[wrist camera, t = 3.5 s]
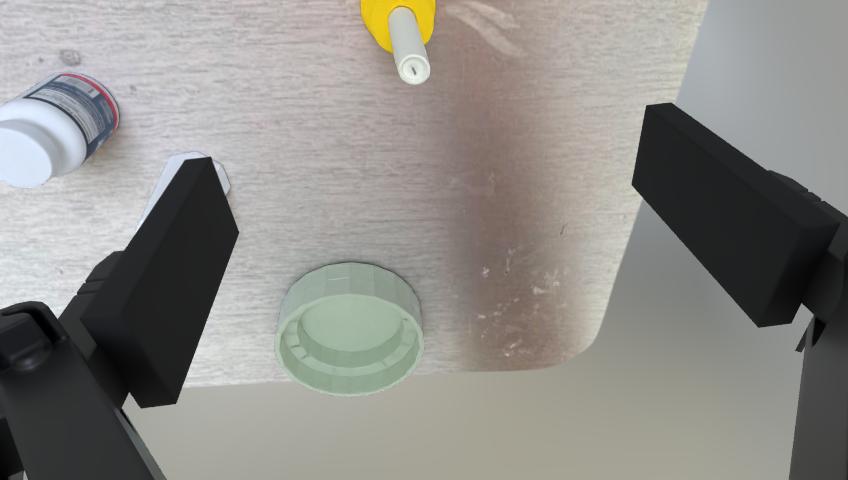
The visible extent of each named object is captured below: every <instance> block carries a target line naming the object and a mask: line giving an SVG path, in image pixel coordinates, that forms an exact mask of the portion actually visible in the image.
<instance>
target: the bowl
mask: <svg viewBox="0 0 848 480" xmlns="http://www.w3.org/2000/svg"><path fill="white" fill-rule="evenodd" d="M424 348H425V347H424V339H423V331H422V323H421V315H420V307H419V301H418V299H417V297H416V295H415V294H414V292H413V290H412V288H411V287H410V286H409V285H408V284H407V283H406V282H405V281H403V280H402V279H401V278H400V277H398V276H397V275H396V274H394V273H392V272H390V271H387V270H385V269H382V268H380V267H377V266H374V265H369V264H361V263H353V262H349V263H341V264H333V265H327V266H324V267H322V268H319V269H317V270H314V271H312V272H309V273H307V274H306V275H304V276H303V277H302V278H301V279H300V280H298V281H297V282H296V283H295V284H293V285H292V286H291V287H290V289H289V291H288V293H287V294H286V296H285V298H284V299H283V301H282V305H281V310H280V315H279V320H278V325H277V330H276V334H275V345H274V352H275V355H276V358H277V360H278V363H279V365H280V367H281V368H282V370H283V371H284V372H285V373H286V374H287V375H288V376H289V377H290V378H291V379H292V380H293V381H295V382H297V383H298V384H300V385H302V386H304V387H306V388H307V389H309V390H312V391H316V392H319V393H323V394H326V395H331V396H345V397H355V396H363V395H370V394H375V393H378V392H380V391H383V390H386V389H389V388H391V387H393V386H395V385H396V384H398V383H400V382H401V381H403V380H404V379H406V378H407V377H409V375H410V374H411V373H412V372H413V371H414V369H415V368H416V367H417V366H418V365H419V363H420V360H421V357H422V354H423V351H424Z"/></svg>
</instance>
